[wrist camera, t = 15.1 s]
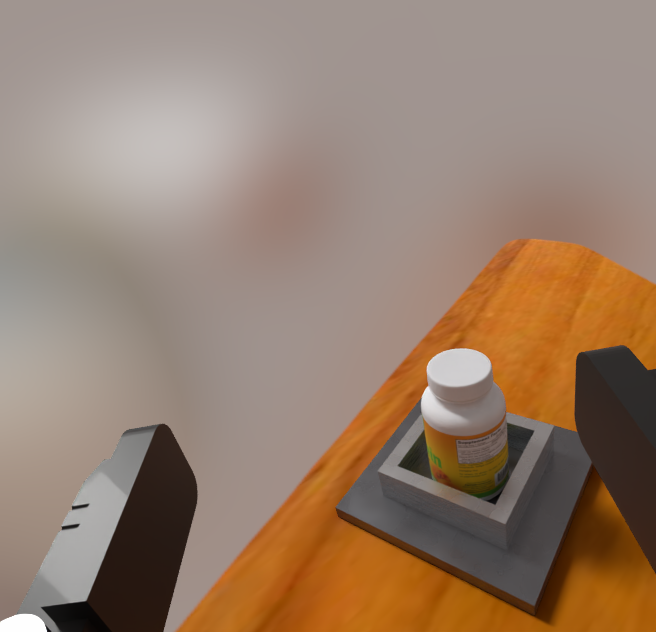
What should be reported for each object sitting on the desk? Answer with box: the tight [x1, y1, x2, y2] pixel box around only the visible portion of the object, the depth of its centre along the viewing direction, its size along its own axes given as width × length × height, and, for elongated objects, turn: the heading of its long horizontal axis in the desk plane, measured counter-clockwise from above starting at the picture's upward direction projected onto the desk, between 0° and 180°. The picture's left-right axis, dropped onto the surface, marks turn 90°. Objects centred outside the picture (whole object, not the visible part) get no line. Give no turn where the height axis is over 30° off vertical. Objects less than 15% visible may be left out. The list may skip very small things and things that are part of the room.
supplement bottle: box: [421, 349, 509, 501], centre depth 35 cm, size 5×5×10 cm
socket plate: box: [336, 398, 594, 616], centre depth 37 cm, size 14×14×4 cm
